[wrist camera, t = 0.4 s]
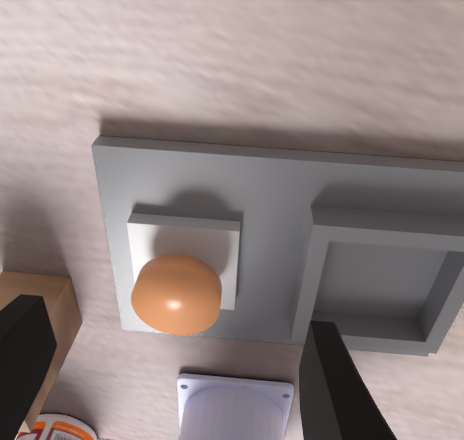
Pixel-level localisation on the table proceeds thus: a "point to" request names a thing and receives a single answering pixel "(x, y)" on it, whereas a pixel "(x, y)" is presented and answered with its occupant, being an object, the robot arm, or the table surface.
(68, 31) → the table surface
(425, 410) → the table surface
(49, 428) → the pill bottle
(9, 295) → the block
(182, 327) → the button
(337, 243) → the loading station
